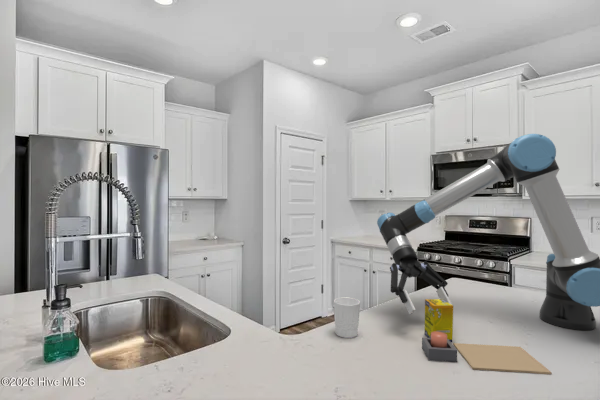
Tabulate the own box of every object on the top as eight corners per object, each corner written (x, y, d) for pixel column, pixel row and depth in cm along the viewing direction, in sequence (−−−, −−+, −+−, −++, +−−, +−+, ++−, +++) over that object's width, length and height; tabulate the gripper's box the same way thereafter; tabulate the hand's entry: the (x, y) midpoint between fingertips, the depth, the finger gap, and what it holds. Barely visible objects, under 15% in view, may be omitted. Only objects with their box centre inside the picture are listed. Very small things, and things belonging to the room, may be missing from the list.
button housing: (448, 349, 95) (448, 338, 95) (457, 362, 88) (457, 350, 88) (421, 348, 95) (422, 337, 95) (428, 360, 88) (428, 348, 88)
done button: (444, 344, 93) (444, 331, 93) (449, 351, 89) (449, 337, 89) (429, 343, 94) (429, 331, 94) (433, 350, 90) (433, 337, 90)
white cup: (359, 340, 100) (359, 306, 100) (332, 337, 102) (332, 304, 102) (359, 329, 108) (360, 298, 108) (334, 327, 110) (335, 296, 109)
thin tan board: (520, 348, 96) (520, 346, 96) (551, 374, 82) (551, 372, 82) (453, 344, 98) (453, 343, 98) (472, 369, 84) (472, 367, 84)
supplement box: (423, 334, 105) (424, 299, 105) (442, 334, 105) (443, 298, 105) (433, 343, 99) (433, 305, 99) (453, 342, 99) (453, 305, 99)
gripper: (427, 256, 124) (457, 311, 111) (366, 260, 116) (390, 319, 102) (437, 244, 119) (470, 300, 105) (374, 246, 111) (401, 307, 97)
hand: (431, 310), depth 104 cm, fingers open, 13 cm apart
